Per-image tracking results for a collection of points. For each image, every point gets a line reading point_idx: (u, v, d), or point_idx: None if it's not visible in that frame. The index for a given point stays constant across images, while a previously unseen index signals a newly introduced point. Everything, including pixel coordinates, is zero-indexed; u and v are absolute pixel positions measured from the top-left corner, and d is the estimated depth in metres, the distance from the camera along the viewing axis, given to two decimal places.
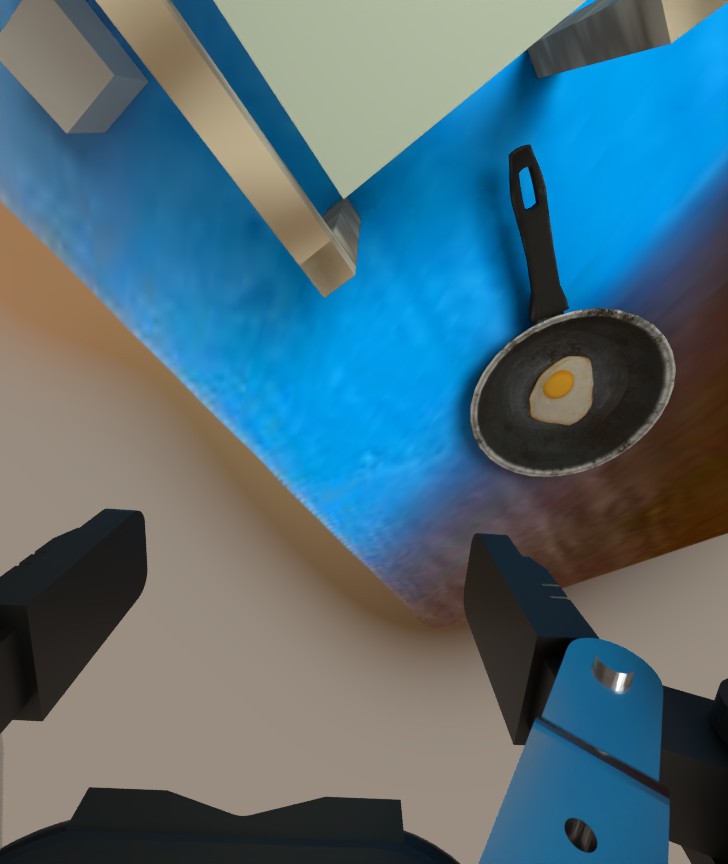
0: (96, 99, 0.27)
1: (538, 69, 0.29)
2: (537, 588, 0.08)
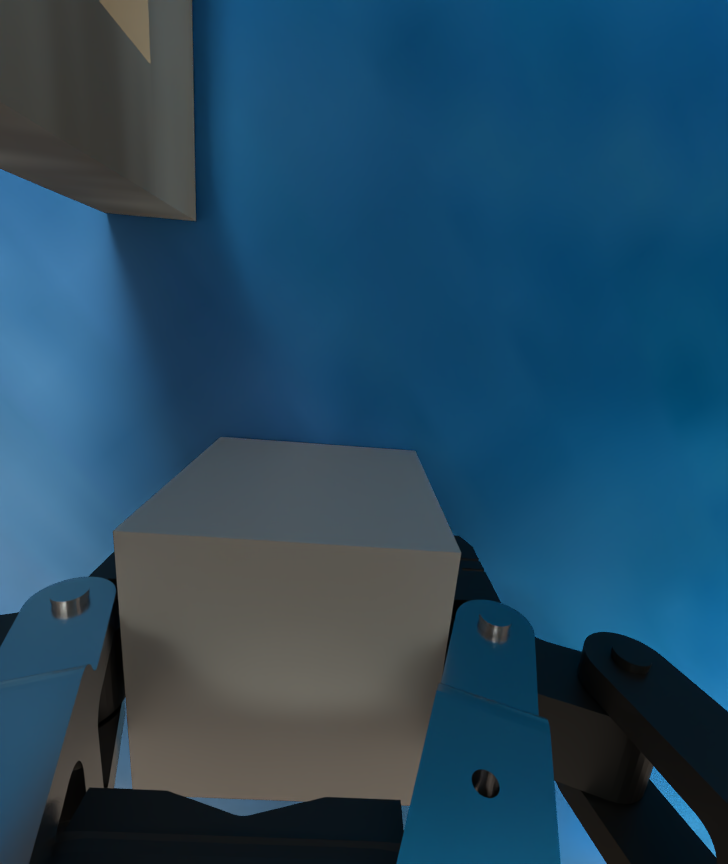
0: (441, 653, 0.07)
1: None
2: None
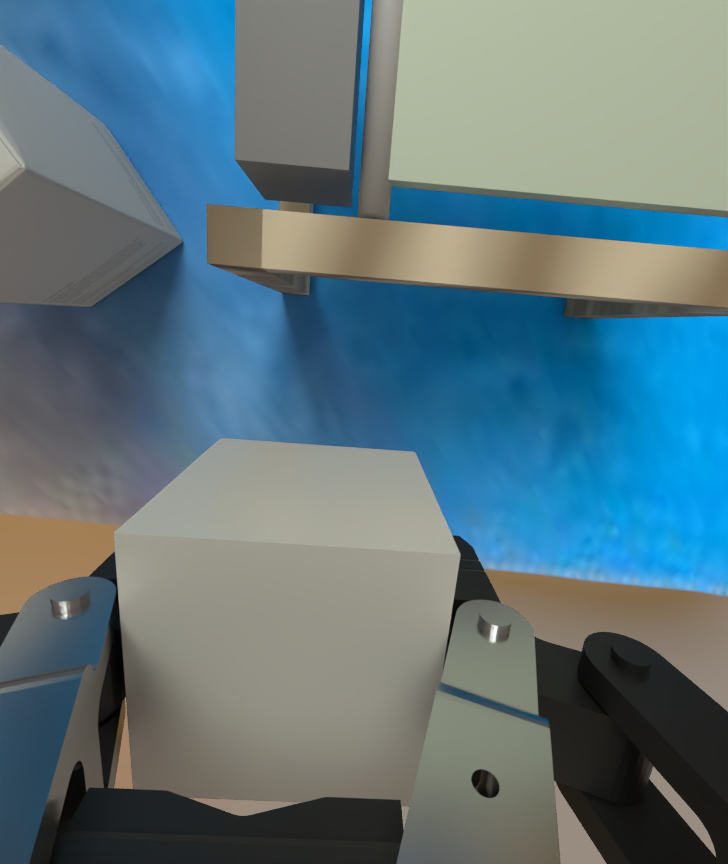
0: (441, 655, 0.07)
1: None
2: None
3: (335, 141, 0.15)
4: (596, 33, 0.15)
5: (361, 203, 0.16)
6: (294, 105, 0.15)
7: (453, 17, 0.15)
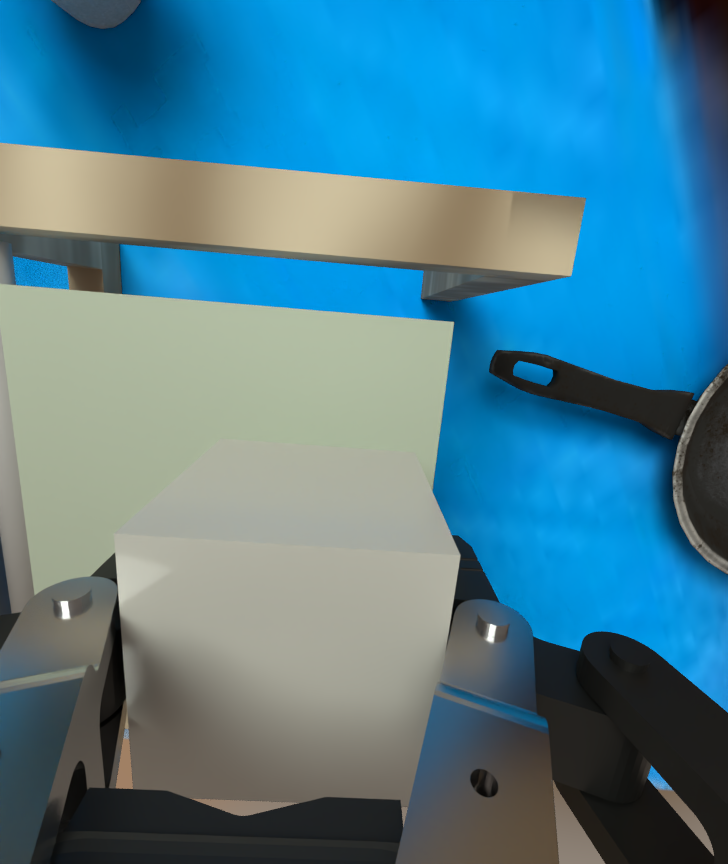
0: (441, 655, 0.07)
1: (445, 300, 0.27)
2: None
3: None
4: None
5: None
6: None
7: (75, 505, 0.14)
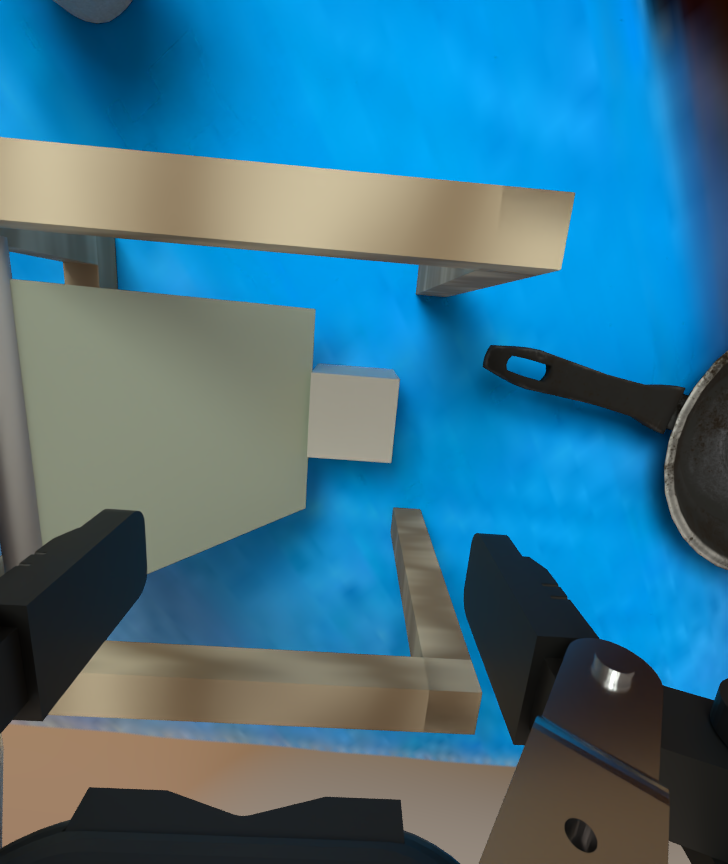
0: None
1: (440, 295, 0.27)
2: (537, 588, 0.08)
3: None
4: (207, 451, 0.20)
5: None
6: None
7: (90, 476, 0.16)
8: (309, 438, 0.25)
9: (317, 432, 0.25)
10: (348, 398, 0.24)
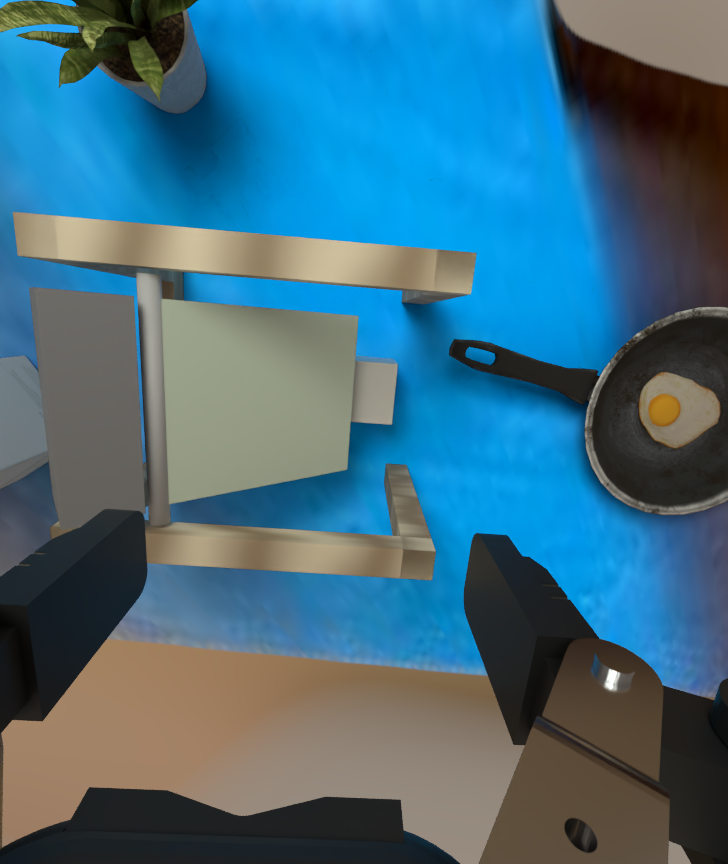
0: None
1: (419, 303, 0.37)
2: (537, 588, 0.08)
3: (134, 501, 0.24)
4: (271, 414, 0.29)
5: (153, 520, 0.26)
6: (103, 490, 0.23)
7: (196, 420, 0.26)
8: None
9: None
10: (361, 377, 0.34)
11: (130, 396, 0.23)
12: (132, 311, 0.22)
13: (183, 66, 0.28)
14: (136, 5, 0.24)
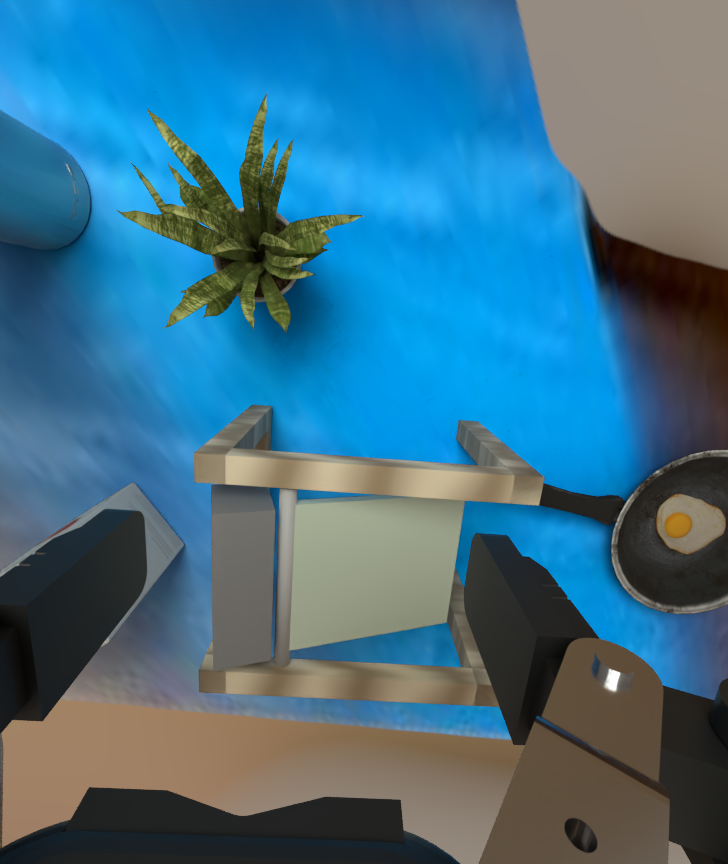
0: None
1: None
2: (537, 588, 0.08)
3: (264, 651, 0.31)
4: (377, 581, 0.33)
5: (276, 662, 0.32)
6: (242, 644, 0.30)
7: (315, 589, 0.32)
8: None
9: None
10: None
11: (267, 578, 0.30)
12: (273, 520, 0.29)
13: None
14: (270, 263, 0.31)
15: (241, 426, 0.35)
